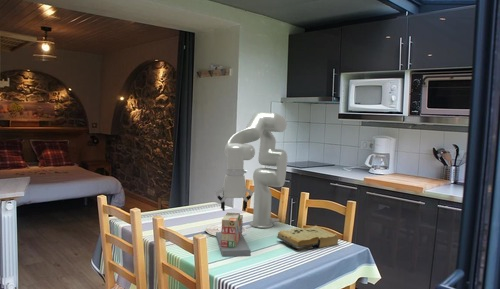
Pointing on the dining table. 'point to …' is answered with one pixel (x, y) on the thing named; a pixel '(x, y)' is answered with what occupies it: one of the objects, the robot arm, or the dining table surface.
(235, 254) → the grey plinth
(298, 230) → the book
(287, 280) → the dining table surface
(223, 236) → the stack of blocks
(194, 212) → the dining table surface
